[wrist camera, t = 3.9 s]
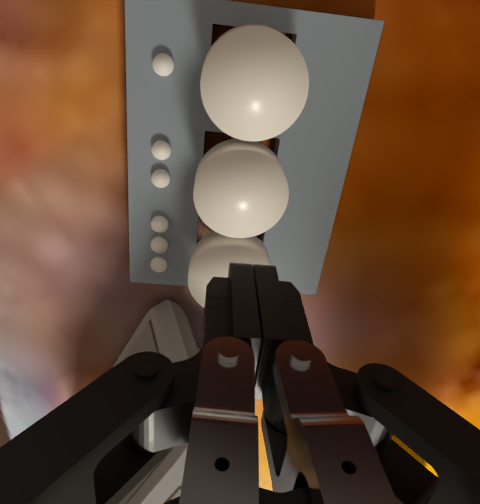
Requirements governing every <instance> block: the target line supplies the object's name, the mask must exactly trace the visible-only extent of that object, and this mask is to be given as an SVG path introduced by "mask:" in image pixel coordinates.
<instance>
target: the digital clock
mask: <svg viewBox="0 0 480 504" xmlns="http://www.w3.org/2000/svg"><path fill="white" fill-rule="evenodd" d="M200 350H201V349H200V348H197V346H196V343H195V340H194V337H193V334H192V331H191V328H190V325H189V322H188V319H187V317H186V315H185V313H184V311H183V310H182V308H181V307H180V306H179V305H178V304H177V303H175V302H174V301H171V300H165V301H163V302H161V303H159V304H157V305H156V306H154V307H152V308H151V309H150V310H149V311H148V313H147V314H146V315H145V317H144V318H143V320H142V321H141V323H140V324H139V326H138V328H137V329H136V331H135V332H134V334H133V335H132V337H131V339H130V340H129V342H128V343H127V345H126V347H125V348H124V350H123V351H122V353H121V354H120V356H119V358H118V359H117V361H116V362H115V364H114V365H113V367H114V366H116V365H117V364H119V363H120V362H122V361H123V360H124V359H126V358H127V357H129V356H131V355H133V354H135V353H139V352H145V351H151V352H157V353H160V354H163V355H165V356H166V357H168V358H169V359H170V360H171V361H172V363H173V362H178V361H183V360H186V359H189V358H191V357H193V356H194V355H196V354H197V353H198V352H199V351H200ZM113 367H112V368H113ZM187 446H188V443H185V444H181V445H178V446H175V447H171V448H170V450H169V452H168V453H167V455H166V456H165V457H164V458H163V459H162V460H161V461H160V462H159V463H158V464H157V465H156V466H155V467H154V468H153V469H152V470H151V471H150V472H149V473H148V474H147V475H146V476H145V477H144V478H143V479H142V480H141V481H140V482H139V483H138V484H137V485H136V486H135V487H134V488H133V489H132V490H131V491H130V492H129V493H128V494H127V495H126V496H125V497H124V498H123V499H122V500H121V502H120V503H119V504H163V503H165V502H167V501H169V500H171V499H174V498H176V497H179V496H180V494H181V487H182V480H183V473H184V467H185V460H186V453H187Z"/></svg>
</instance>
